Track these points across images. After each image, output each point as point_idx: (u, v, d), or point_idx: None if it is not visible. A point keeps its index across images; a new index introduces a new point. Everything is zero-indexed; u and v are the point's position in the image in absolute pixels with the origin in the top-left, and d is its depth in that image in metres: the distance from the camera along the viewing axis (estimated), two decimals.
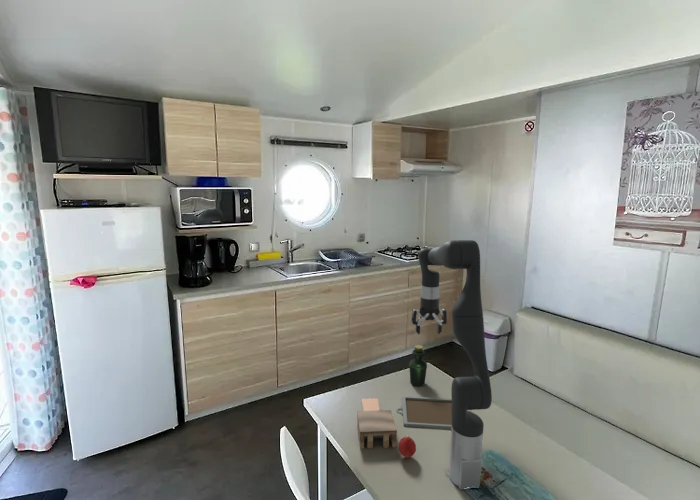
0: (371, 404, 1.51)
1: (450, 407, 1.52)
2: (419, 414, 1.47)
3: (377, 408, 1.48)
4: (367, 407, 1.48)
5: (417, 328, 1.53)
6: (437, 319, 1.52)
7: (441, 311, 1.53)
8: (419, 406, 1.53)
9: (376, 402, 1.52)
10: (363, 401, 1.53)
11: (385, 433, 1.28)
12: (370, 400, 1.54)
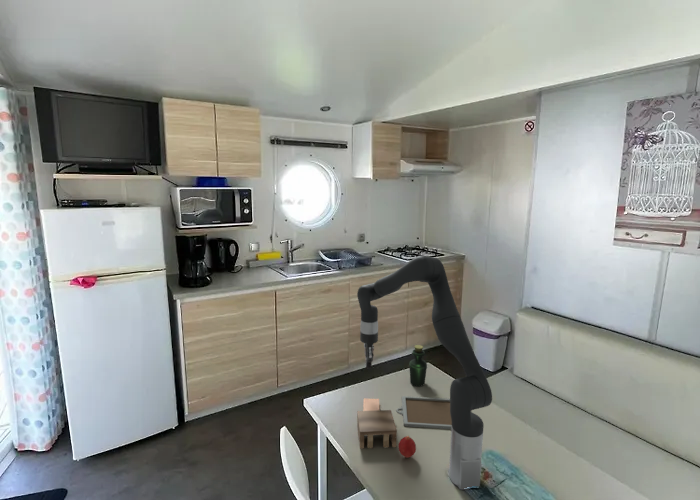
0: (372, 404, 1.51)
1: None
2: (419, 414, 1.47)
3: (377, 408, 1.48)
4: (367, 407, 1.49)
5: (370, 364, 1.57)
6: None
7: None
8: (419, 406, 1.53)
9: (377, 402, 1.52)
10: (364, 401, 1.53)
11: (385, 433, 1.28)
12: (371, 400, 1.54)
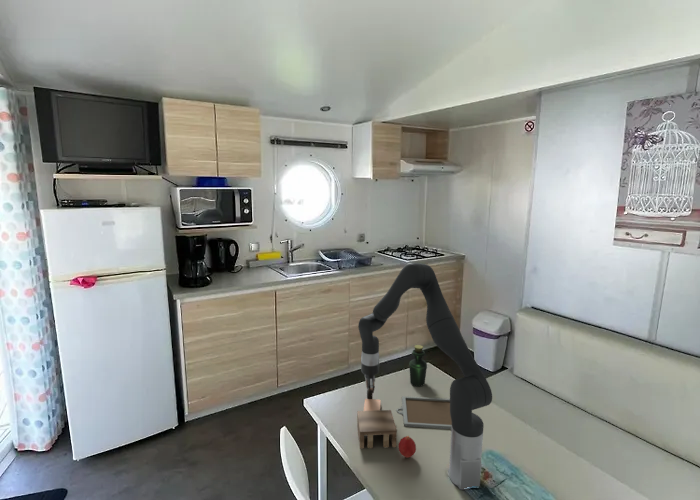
0: (373, 405, 1.50)
1: None
2: (419, 414, 1.47)
3: (377, 409, 1.47)
4: (367, 408, 1.48)
5: (371, 394, 1.55)
6: None
7: None
8: (419, 406, 1.53)
9: (378, 403, 1.51)
10: (365, 401, 1.53)
11: (385, 433, 1.28)
12: (373, 401, 1.53)
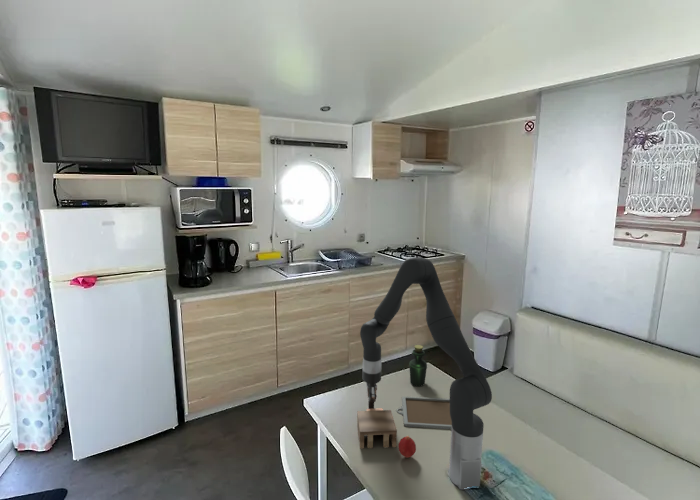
0: None
1: None
2: (419, 414, 1.47)
3: None
4: None
5: (373, 403, 1.48)
6: None
7: None
8: (419, 406, 1.53)
9: None
10: None
11: (385, 433, 1.28)
12: (375, 410, 1.47)
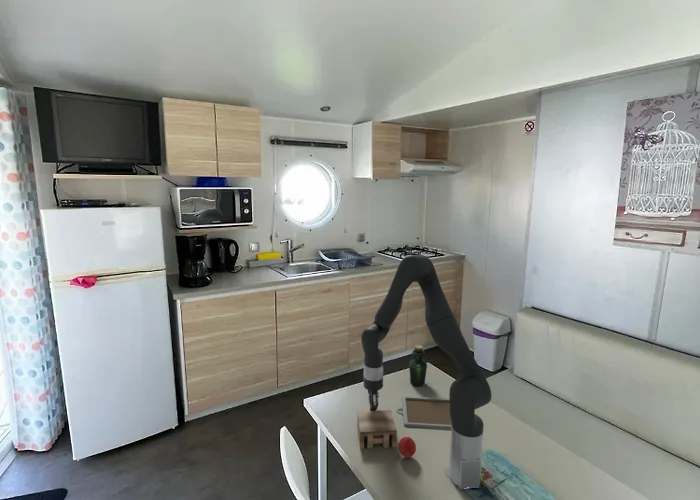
0: None
1: None
2: (419, 414, 1.47)
3: None
4: None
5: None
6: None
7: None
8: (419, 406, 1.53)
9: None
10: None
11: (385, 433, 1.28)
12: None
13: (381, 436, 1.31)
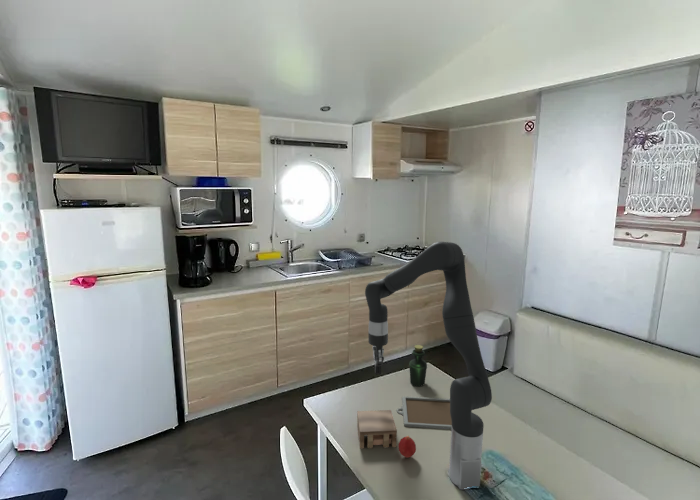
0: None
1: None
2: (419, 414, 1.47)
3: None
4: None
5: (380, 368, 1.43)
6: None
7: None
8: (419, 406, 1.53)
9: None
10: None
11: (385, 433, 1.28)
12: None
13: (382, 437, 1.31)
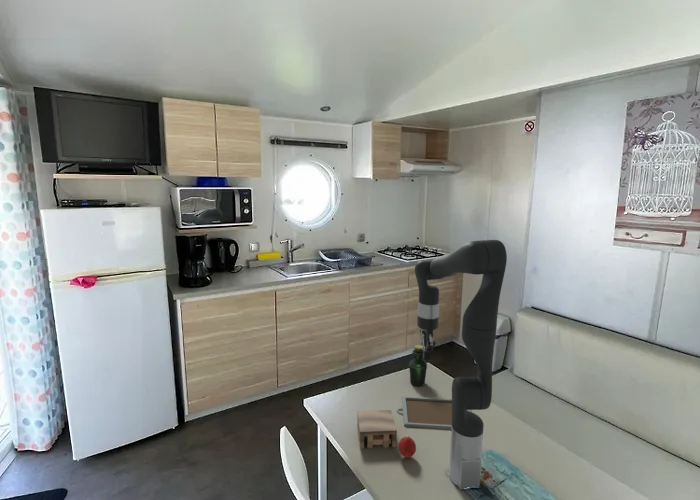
0: None
1: (450, 407, 1.52)
2: (419, 414, 1.47)
3: None
4: None
5: (429, 354, 1.34)
6: None
7: None
8: (419, 406, 1.53)
9: None
10: None
11: (385, 433, 1.28)
12: None
13: (382, 437, 1.31)
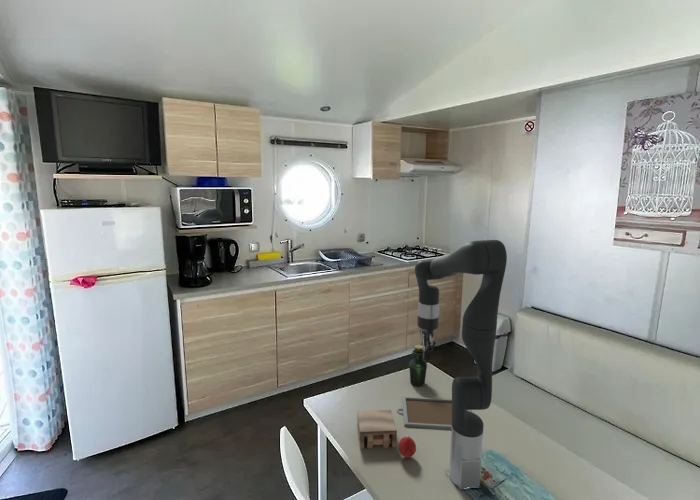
0: None
1: (450, 407, 1.52)
2: (419, 414, 1.47)
3: None
4: None
5: (429, 354, 1.34)
6: None
7: None
8: (419, 406, 1.53)
9: None
10: None
11: (385, 433, 1.28)
12: None
13: (382, 437, 1.31)
